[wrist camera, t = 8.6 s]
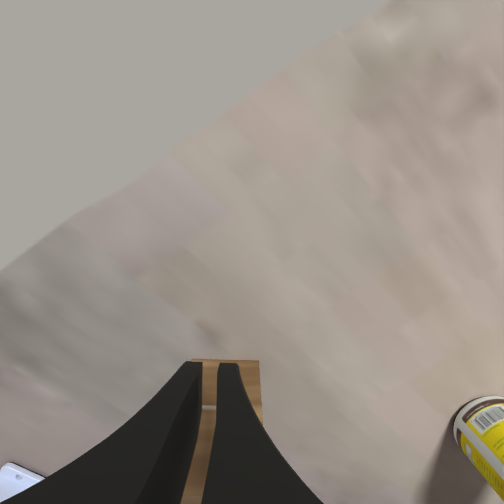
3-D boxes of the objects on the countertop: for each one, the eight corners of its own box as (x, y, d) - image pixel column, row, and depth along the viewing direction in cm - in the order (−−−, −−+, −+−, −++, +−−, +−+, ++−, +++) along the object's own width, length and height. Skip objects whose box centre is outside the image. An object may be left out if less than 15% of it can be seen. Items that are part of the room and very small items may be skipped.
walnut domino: (191, 357, 22) (148, 493, 12) (258, 359, 22) (267, 494, 13) (192, 379, 23) (150, 527, 13) (257, 380, 23) (265, 528, 13)
